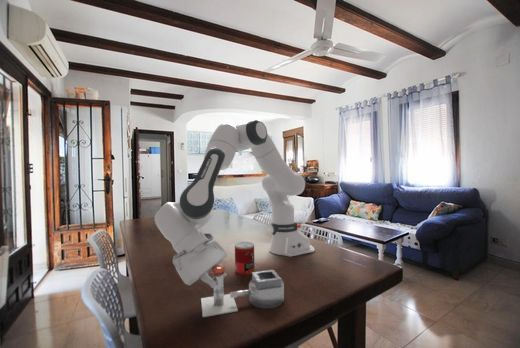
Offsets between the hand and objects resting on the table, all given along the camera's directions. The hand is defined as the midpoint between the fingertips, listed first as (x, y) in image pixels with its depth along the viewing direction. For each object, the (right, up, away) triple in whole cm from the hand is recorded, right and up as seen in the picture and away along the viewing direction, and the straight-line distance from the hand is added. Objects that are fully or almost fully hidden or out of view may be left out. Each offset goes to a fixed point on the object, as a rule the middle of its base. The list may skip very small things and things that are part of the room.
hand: (220, 281), depth 76 cm
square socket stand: (+11, -7, +3) cm, 14 cm away
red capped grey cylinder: (0, -7, 0) cm, 7 cm away
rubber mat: (-1, -7, 0) cm, 7 cm away
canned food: (+6, -7, +25) cm, 27 cm away
